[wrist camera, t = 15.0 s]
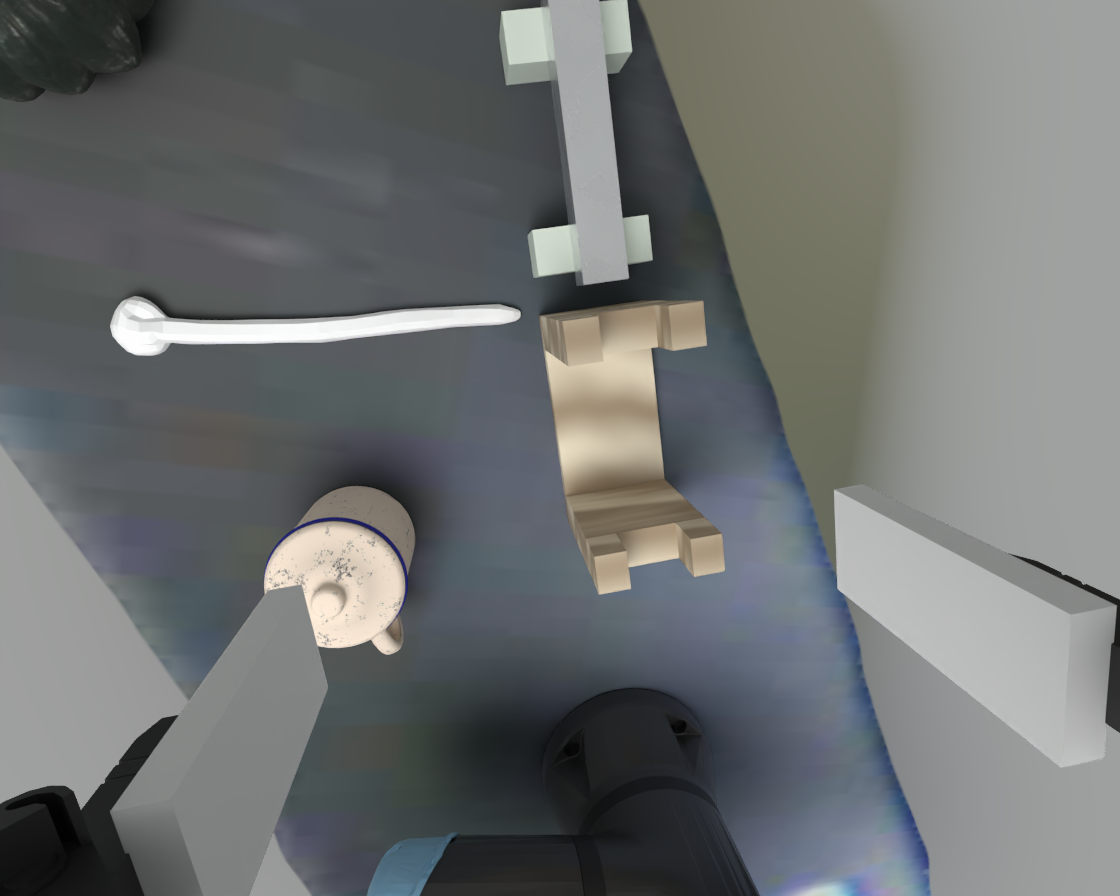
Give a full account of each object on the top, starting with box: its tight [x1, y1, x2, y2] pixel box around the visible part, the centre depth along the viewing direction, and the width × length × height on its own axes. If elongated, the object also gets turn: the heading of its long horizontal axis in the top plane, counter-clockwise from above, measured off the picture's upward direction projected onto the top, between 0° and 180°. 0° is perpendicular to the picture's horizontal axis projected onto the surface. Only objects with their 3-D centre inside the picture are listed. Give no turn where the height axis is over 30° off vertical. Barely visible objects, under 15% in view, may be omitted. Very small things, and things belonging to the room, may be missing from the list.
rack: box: [539, 301, 725, 595], centre depth 44 cm, size 16×8×14 cm, turn 8°
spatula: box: [110, 296, 521, 356], centre depth 45 cm, size 28×4×3 cm, turn 94°
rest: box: [499, 0, 653, 278], centre depth 44 cm, size 16×8×4 cm, turn 8°
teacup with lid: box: [264, 486, 415, 655], centre depth 45 cm, size 12×9×12 cm
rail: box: [540, 0, 629, 286], centre depth 41 cm, size 18×3×3 cm, turn 8°
